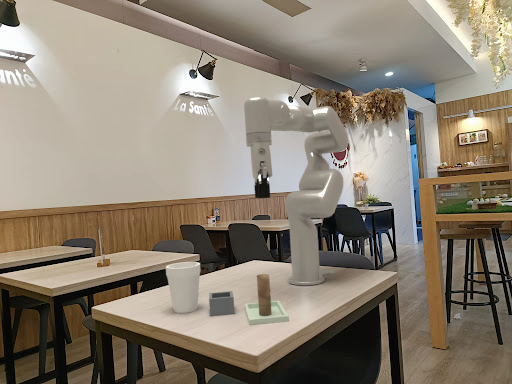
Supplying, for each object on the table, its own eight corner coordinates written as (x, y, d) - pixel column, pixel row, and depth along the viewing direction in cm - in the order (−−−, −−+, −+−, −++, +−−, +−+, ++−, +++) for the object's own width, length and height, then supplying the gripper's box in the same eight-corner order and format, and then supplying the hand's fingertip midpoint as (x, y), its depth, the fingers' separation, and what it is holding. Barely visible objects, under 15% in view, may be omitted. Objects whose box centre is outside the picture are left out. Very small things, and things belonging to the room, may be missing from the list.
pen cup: (233, 308, 107) (232, 290, 107) (234, 316, 101) (233, 297, 101) (210, 311, 106) (209, 293, 106) (210, 318, 100) (209, 299, 100)
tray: (244, 310, 105) (244, 303, 105) (279, 307, 106) (279, 300, 106) (249, 327, 91) (249, 319, 91) (289, 323, 93) (288, 316, 93)
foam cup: (171, 307, 112) (168, 263, 112) (203, 305, 112) (200, 260, 112) (166, 318, 102) (163, 269, 102) (201, 315, 103) (198, 267, 103)
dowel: (270, 311, 101) (268, 273, 101) (272, 315, 97) (270, 276, 97) (258, 312, 100) (256, 274, 100) (260, 316, 97) (257, 277, 97)
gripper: (276, 135, 106) (279, 197, 106) (267, 143, 123) (270, 197, 123) (249, 136, 105) (252, 199, 105) (243, 144, 122) (247, 198, 122)
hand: (262, 197), depth 114 cm, fingers open, 9 cm apart
